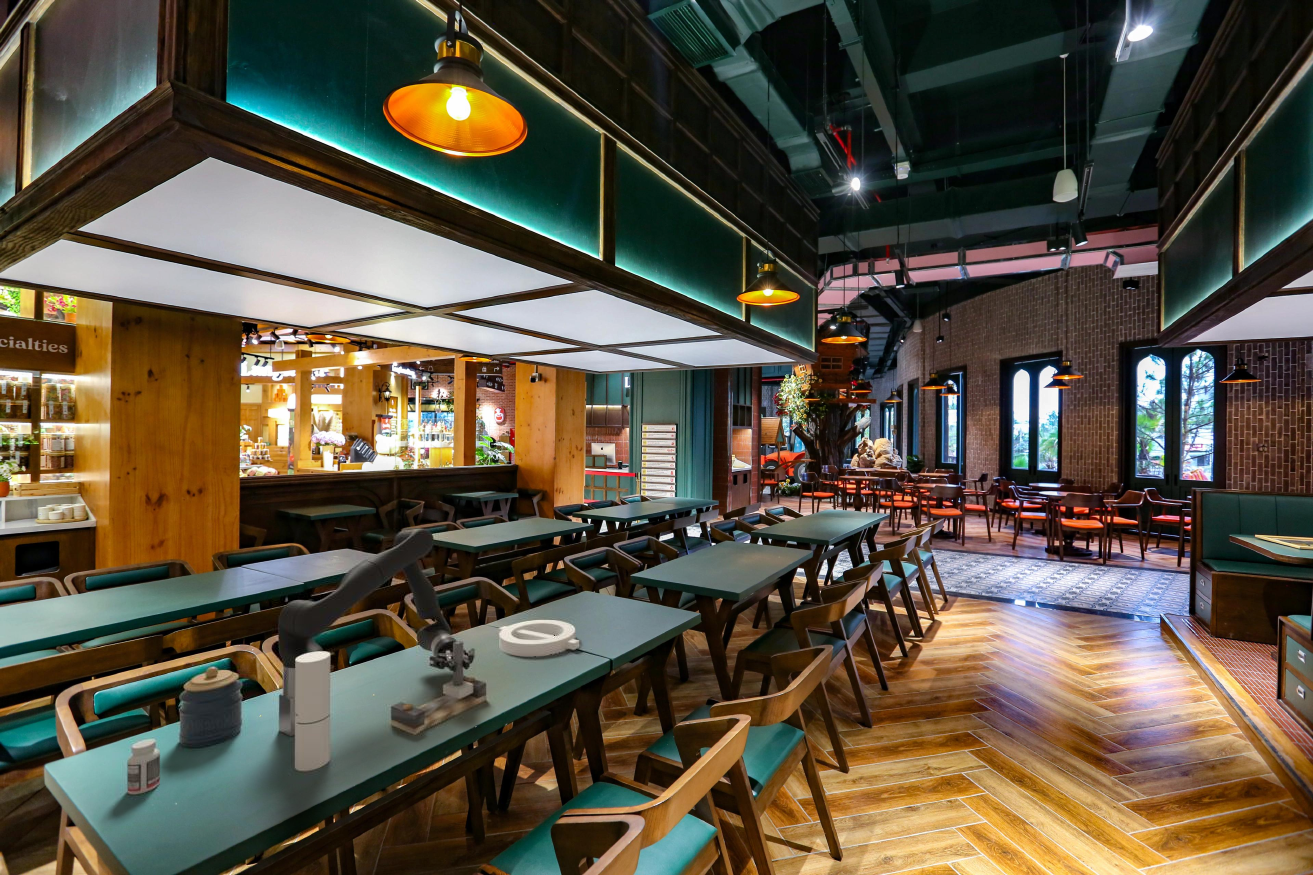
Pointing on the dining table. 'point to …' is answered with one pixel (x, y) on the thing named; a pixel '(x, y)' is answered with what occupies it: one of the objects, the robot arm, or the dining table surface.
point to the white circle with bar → (537, 638)
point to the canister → (210, 708)
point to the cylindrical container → (312, 710)
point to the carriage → (458, 676)
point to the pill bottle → (143, 767)
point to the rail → (442, 713)
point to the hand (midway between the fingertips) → (461, 666)
